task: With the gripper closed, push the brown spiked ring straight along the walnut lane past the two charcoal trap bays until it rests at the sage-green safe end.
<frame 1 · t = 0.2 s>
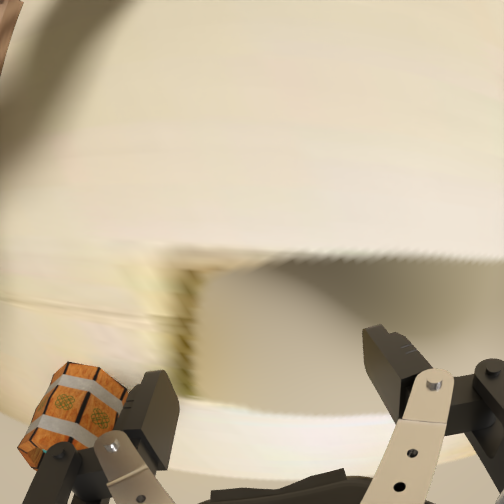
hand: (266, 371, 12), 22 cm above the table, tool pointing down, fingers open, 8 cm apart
mug: (89, 403, 43), on the table
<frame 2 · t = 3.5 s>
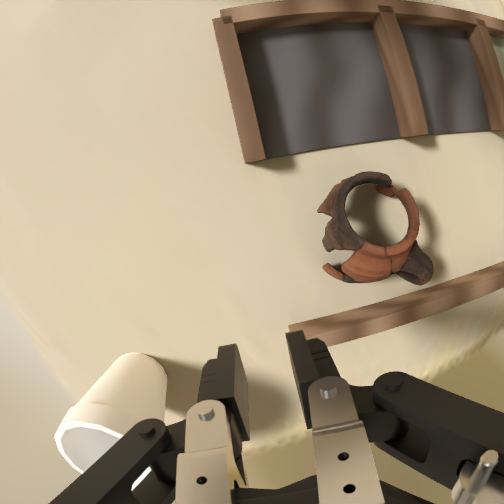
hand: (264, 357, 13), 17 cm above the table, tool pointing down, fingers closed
trap box: (433, 153, 28), on the table
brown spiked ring: (363, 234, 30), on the table
foam cup: (140, 374, 33), on the table
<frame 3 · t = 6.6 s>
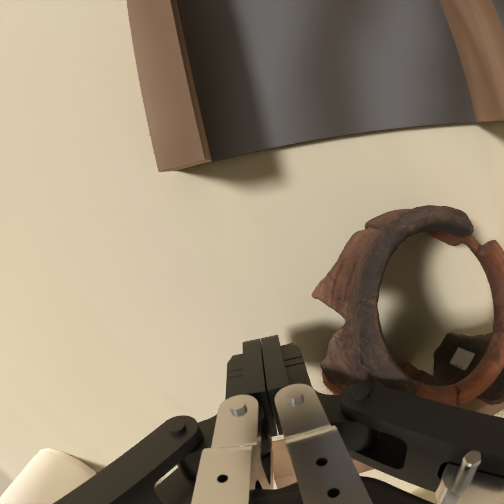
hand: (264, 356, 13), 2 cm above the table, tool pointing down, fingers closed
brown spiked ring: (398, 311, 15), on the table, touching gripper
foam cup: (71, 471, 19), on the table
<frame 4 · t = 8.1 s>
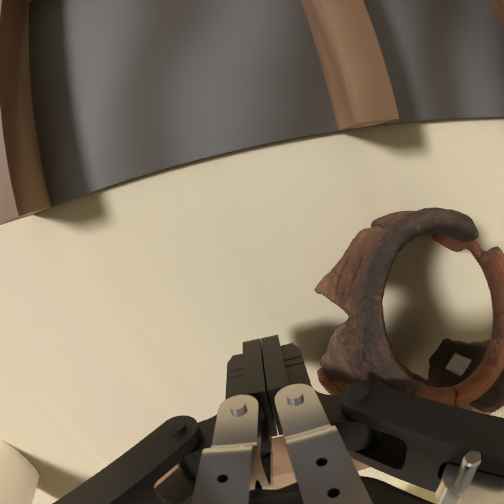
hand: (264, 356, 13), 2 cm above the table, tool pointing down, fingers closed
trap box: (417, 163, 13), on the table
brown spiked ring: (397, 314, 16), on the table, touching gripper
foam cup: (12, 459, 19), on the table
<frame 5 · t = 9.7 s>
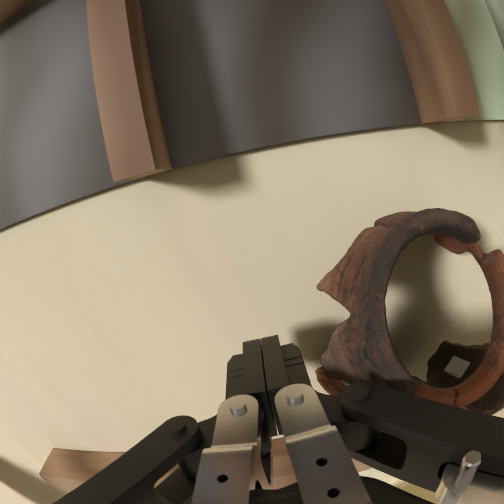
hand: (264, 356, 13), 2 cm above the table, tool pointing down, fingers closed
trap box: (234, 201, 14), on the table
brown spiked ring: (397, 315, 16), on the table, touching gripper
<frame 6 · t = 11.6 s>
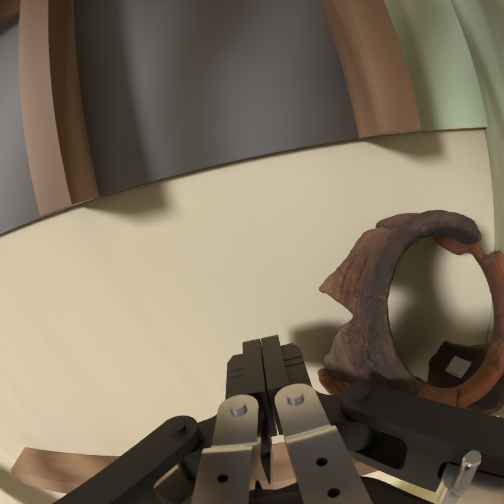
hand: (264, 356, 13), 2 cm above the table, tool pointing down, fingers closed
trap box: (158, 227, 14), on the table
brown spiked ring: (398, 316, 16), on the table
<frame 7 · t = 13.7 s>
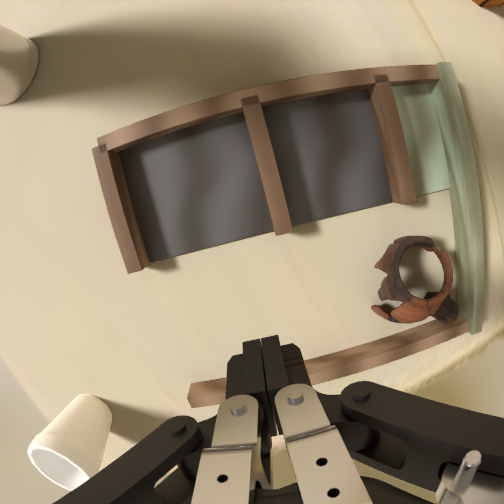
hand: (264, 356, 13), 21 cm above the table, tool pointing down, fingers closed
trap box: (314, 239, 33), on the table
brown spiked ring: (405, 280, 35), on the table
foam cup: (93, 409, 39), on the table
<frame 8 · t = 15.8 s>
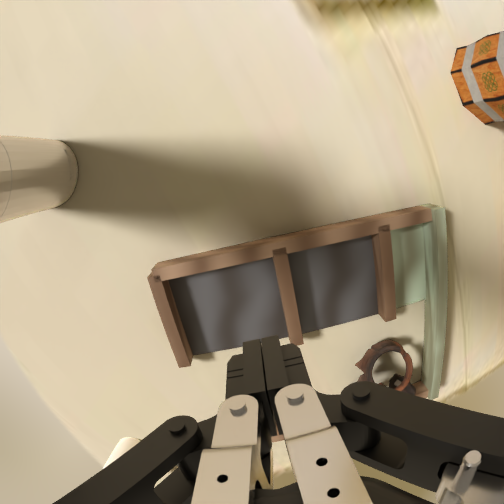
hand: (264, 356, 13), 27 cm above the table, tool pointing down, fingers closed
trap box: (317, 341, 43), on the table
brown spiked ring: (378, 365, 46), on the table
foam cup: (134, 447, 49), on the table
mug: (494, 88, 35), on the table
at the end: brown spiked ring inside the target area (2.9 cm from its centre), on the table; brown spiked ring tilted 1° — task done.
